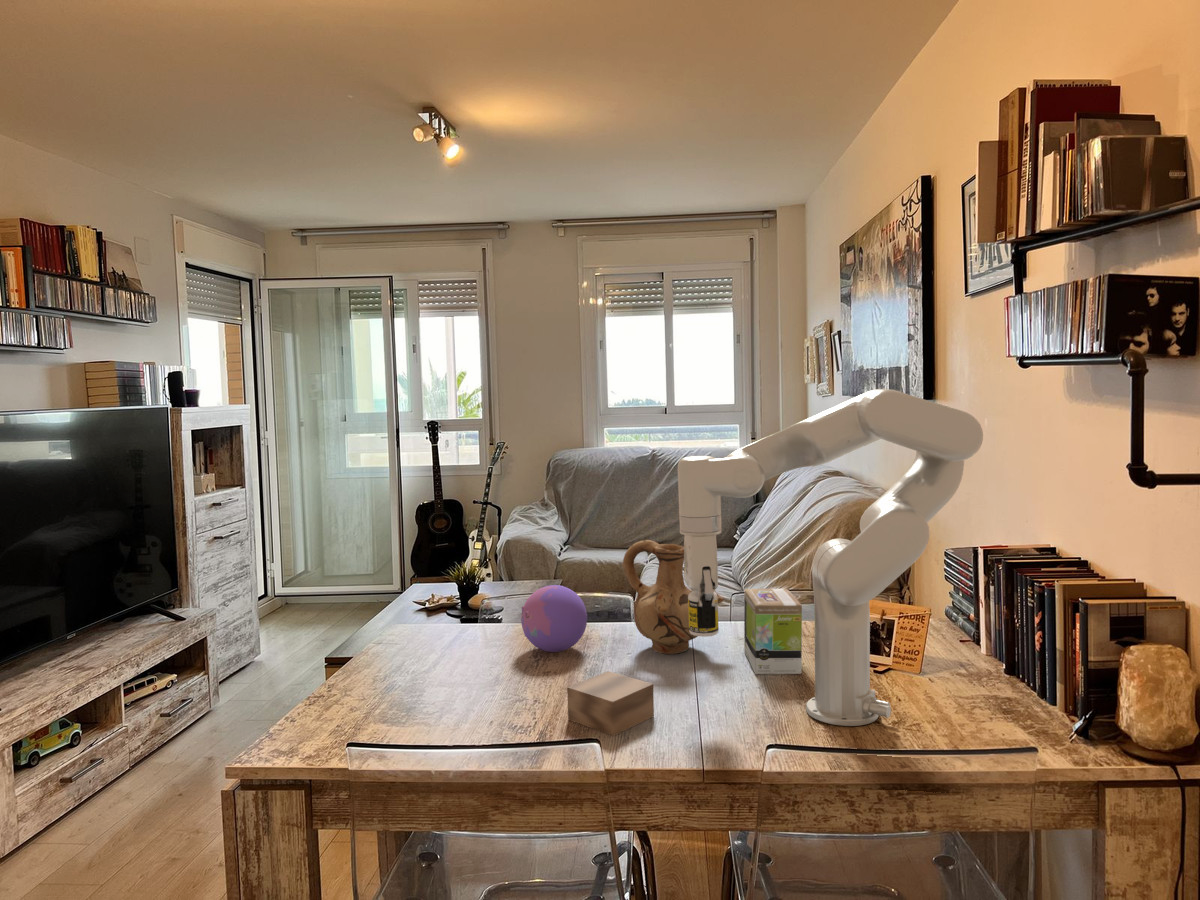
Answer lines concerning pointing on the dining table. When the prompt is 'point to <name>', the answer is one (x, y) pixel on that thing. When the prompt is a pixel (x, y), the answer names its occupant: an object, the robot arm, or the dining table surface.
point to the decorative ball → (554, 618)
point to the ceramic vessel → (662, 598)
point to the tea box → (773, 631)
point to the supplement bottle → (693, 615)
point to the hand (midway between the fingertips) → (703, 622)
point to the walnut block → (610, 702)
